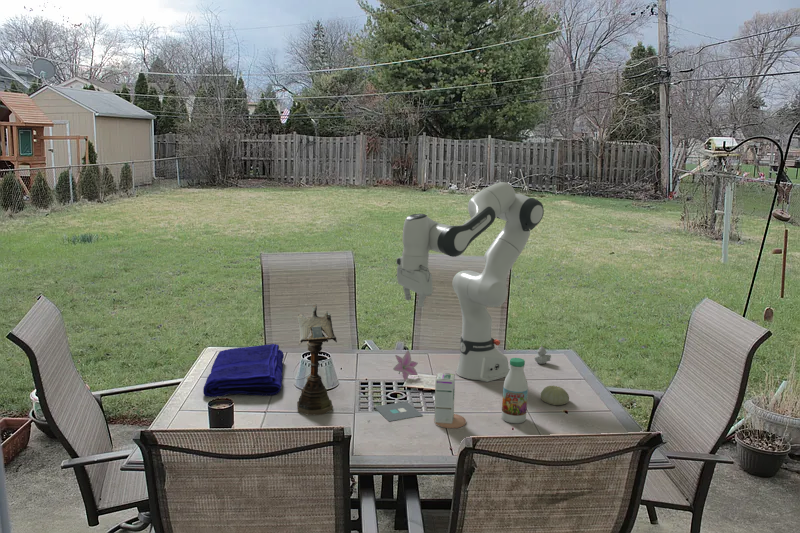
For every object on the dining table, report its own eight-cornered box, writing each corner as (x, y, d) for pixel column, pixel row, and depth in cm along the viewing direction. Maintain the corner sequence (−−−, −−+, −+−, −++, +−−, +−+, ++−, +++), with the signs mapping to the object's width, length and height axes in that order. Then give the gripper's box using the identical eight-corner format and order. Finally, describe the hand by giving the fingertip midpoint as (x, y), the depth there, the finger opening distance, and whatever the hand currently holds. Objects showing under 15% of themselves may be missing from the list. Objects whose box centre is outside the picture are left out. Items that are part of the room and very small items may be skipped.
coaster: (455, 412, 209) (455, 411, 209) (471, 425, 200) (471, 423, 200) (428, 417, 205) (428, 416, 205) (443, 430, 196) (443, 429, 196)
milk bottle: (498, 414, 209) (502, 355, 205) (522, 413, 210) (526, 355, 206) (504, 424, 201) (508, 363, 198) (528, 424, 202) (532, 363, 198)
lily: (387, 383, 236) (397, 366, 231) (385, 363, 245) (394, 346, 240) (414, 389, 239) (424, 373, 235) (411, 369, 248) (421, 353, 244)
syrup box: (452, 424, 199) (454, 380, 196) (433, 422, 200) (435, 378, 197) (453, 416, 205) (455, 373, 202) (435, 415, 206) (437, 372, 203)
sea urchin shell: (555, 404, 213) (544, 381, 217) (542, 413, 220) (533, 391, 223) (576, 399, 218) (566, 377, 222) (564, 409, 224) (553, 387, 228)
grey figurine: (532, 361, 261) (534, 342, 260) (549, 361, 261) (550, 342, 260) (535, 365, 256) (537, 346, 254) (552, 366, 256) (553, 346, 254)
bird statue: (341, 420, 201) (342, 312, 195) (299, 423, 198) (299, 313, 192) (335, 399, 217) (336, 299, 210) (296, 401, 214) (295, 300, 208)
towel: (202, 399, 215) (201, 374, 213) (216, 363, 250) (215, 341, 248) (281, 397, 219) (281, 372, 217) (285, 361, 253) (284, 340, 252)
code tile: (406, 401, 217) (406, 401, 217) (423, 415, 206) (423, 415, 206) (374, 407, 212) (374, 406, 212) (388, 421, 201) (388, 420, 201)
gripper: (438, 268, 206) (436, 309, 209) (410, 257, 224) (409, 295, 227) (420, 269, 203) (419, 311, 206) (394, 258, 221) (393, 297, 224)
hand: (414, 303), depth 217 cm, fingers open, 8 cm apart
